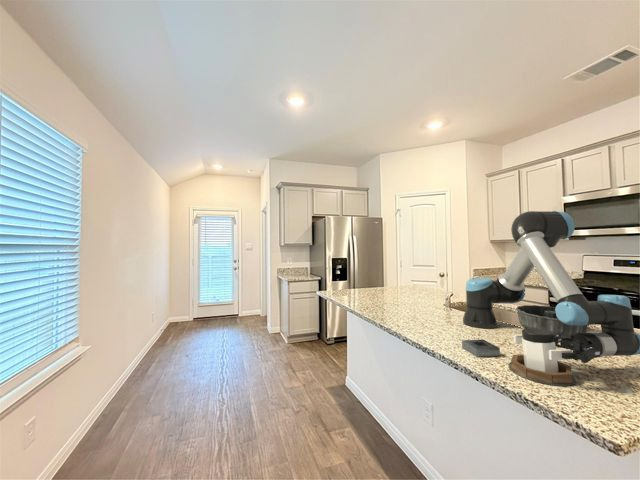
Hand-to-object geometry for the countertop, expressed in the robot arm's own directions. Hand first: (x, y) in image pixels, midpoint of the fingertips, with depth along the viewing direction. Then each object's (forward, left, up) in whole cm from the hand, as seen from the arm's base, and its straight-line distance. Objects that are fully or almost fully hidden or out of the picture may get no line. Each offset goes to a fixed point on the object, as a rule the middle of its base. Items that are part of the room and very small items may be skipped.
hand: (530, 346), depth 89 cm
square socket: (-18, -5, -9) cm, 21 cm away
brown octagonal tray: (0, +3, -9) cm, 9 cm away
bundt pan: (-36, +42, -9) cm, 56 cm away
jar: (-1, +4, -8) cm, 9 cm away
